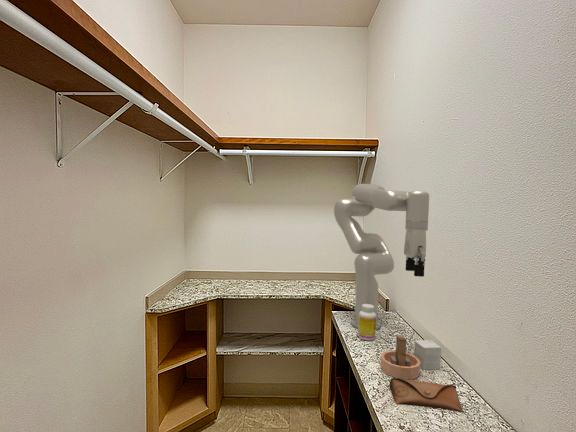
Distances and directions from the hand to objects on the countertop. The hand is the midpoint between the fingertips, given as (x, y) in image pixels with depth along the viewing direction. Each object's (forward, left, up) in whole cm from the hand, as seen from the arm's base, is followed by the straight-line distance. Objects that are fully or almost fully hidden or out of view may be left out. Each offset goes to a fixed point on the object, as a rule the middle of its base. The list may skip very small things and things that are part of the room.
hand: (414, 273), depth 119 cm
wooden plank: (+15, -8, -28) cm, 33 cm away
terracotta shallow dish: (+15, -8, -28) cm, 33 cm away
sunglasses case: (+31, -5, -29) cm, 43 cm away
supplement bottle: (-10, -14, -28) cm, 33 cm away
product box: (+11, +2, -29) cm, 31 cm away
